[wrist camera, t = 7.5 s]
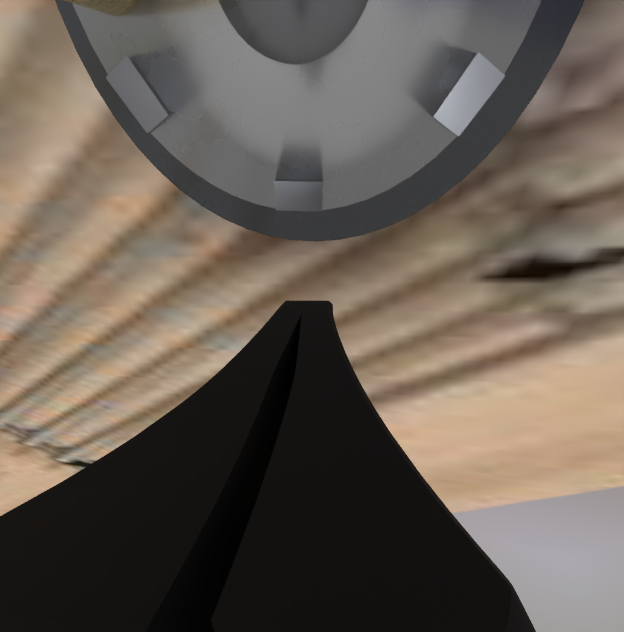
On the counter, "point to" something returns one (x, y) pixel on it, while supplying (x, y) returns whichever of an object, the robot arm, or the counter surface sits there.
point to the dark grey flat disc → (387, 206)
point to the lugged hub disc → (305, 86)
